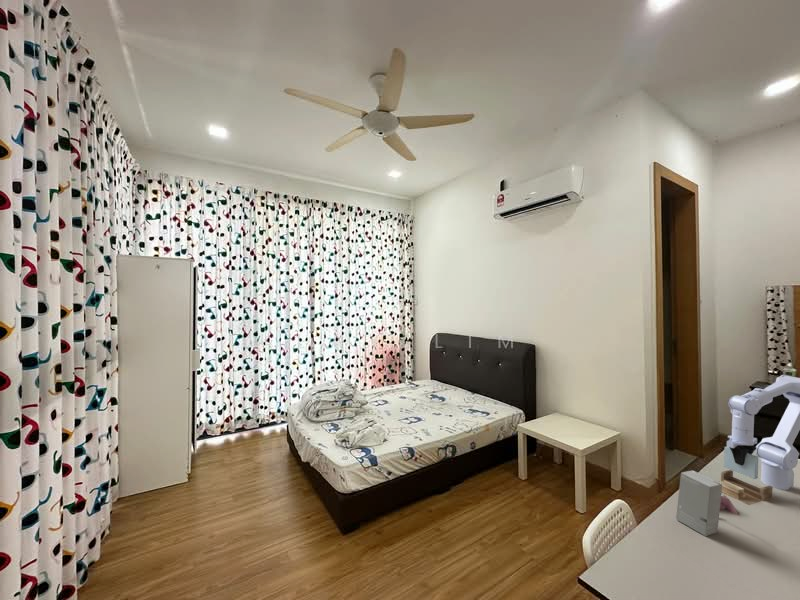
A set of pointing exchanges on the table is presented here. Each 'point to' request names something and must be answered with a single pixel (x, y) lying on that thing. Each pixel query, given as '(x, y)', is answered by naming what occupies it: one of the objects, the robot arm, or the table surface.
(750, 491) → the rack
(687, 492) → the skincare box
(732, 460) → the tall sheet
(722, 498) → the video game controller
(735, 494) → the offcut stack
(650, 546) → the table surface
